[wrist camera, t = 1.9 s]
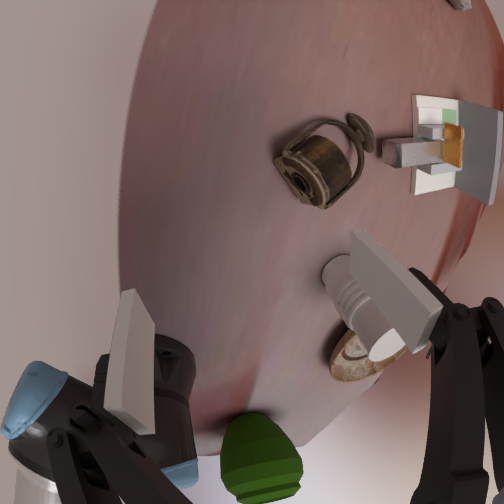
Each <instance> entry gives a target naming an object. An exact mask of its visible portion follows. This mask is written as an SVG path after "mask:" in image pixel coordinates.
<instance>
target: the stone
mask: <svg viewBox="0 0 504 504" xmlns="http://www.w3.org/2000/svg"><path fill="white" fill-rule="evenodd" d="M449 2H450V3H451V4H452V5H453V6H454V7H455V8H457V9H459V10H461V11H465V10H468V9H471V8H472V6H471V0H449Z"/></svg>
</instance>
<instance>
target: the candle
mask: <svg viewBox="0 0 504 504" xmlns="http://www.w3.org/2000/svg"><path fill="white" fill-rule="evenodd" d="M349 260H350V256H349V255H340V256H337V257H335V258H334V259H332V260H331V261H330V262H329V263H328V264H327V265H326V266H325V268H324V270H323V273H322V281H323V283H324V284H325V290H326V292H327V294H328V295H329V296H330V297H331V298H332V300H333V301H334V305H335V308H336V309H337V311H338V312H339V314H340V315H341V317H342V319H343V320H344V322H345V323H346V325H347V326H348V328H350V329H351V330H353V331H354V332H355V333H356V335H357V336H358V338H359V339H360V341H361V343H362V344H363V346H364V347H365V349H366V351H367V355H368V358H369V359H370V360H371V361H374V362H377V361H381V360H384V359H386V358H389V357H390V356H392V355H394V354H395V353H396V352H398V351H399V350H400V349H401V348H402V347H403V346H404V345H405V343H404V341H403V340H402V339H401V337H400V336H399V335H398V333H397V332H396V331H395V329H394V328H393V327H392V325H391V324H390V323H389V321H388V320H387V319H386V317H385V316H384V315H383V313H382V312H381V311H380V310H379V308H378V307H377V306H376V304H375V303H374V302H373V301H372V299H371V298H370V297H369V296H368V294H367V293H366V292H365V291H364V289H363V288H362V287H361V286H360V284H359V283H358V282H357V281H356V280H355V278H354V277H353V276H352V275H351V273H350V272H349Z"/></svg>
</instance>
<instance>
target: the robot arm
mask: <svg viewBox="0 0 504 504" xmlns="http://www.w3.org/2000/svg"><path fill="white" fill-rule="evenodd" d="M349 272H350V273H351V275H352V276H353V277H354V278H355V280H356V281H357V282H358V283H359V284H360V286H361V287H362V288H363V289H364V291H365V292H366V293H367V294H368V296H369V297H370V298H371V299H372V301H373V302H374V303H375V304H376V306H377V307H378V308H379V310H380V311H381V312H382V313H383V315H384V316H385V317H386V319H387V320H388V321H389V323H390V324H391V325H392V327H393V328H394V329H395V331H396V332H397V333H398V335H399V336H400V337H401V339H402V340H403V341H404V343H405V344H406V345H407V347H408V348H409V350H410V351H411V352H412V354H414V353H416V352H418V351H419V350H421V349H423V348H424V347H425V346H426V344H427V342H428V340H430V341H431V343H432V346H431V348H430V349H429V351H428V353H427V355H426V359H428V358H429V356H430V354H431V398H430V415H429V427H428V435H427V445H426V451H425V457H424V463H423V469H422V474H421V479H420V483H419V485H418V487H417V489H416V490H415V491H414V493H413V496H412V498H411V502H410V504H485V502H486V497H487V491H488V485H489V475H488V472H486V471H485V470H484V469H483V455H484V440H485V418H486V422H487V428H488V433H489V439H490V445H491V452H492V460H493V469H494V477H495V481H496V486H497V489H498V492H499V494H497V495H496V496H495V497H494V499H493V501H492V504H504V307H503V306H502V304H501V303H500V302H499V301H498V300H497V299H495V298H492V297H487V298H485V299H484V300H483V302H482V304H481V306H479V307H474V308H468V307H467V306H465V305H464V304H460V303H455V304H453V303H452V302H451V301H450V300H449V299H448V298H447V297H446V296H445V295H444V293H443V292H442V291H441V290H440V289H439V288H438V287H437V286H436V285H434V284H433V282H432V281H431V280H428V278H427V277H426V276H425V275H424V274H423V273H422V272H421V271H419V270H417V269H415V268H413V267H412V268H409V269H407V268H406V267H405V266H404V265H403V264H402V263H401V262H400V261H398V260H397V259H396V258H395V257H394V256H393V255H392V254H391V253H390V252H389V251H388V250H387V249H386V248H385V247H383V246H382V245H381V244H380V243H379V242H378V241H377V240H376V239H375V238H373V237H372V236H371V235H370V234H369V233H368V232H367V231H365V230H364V229H363V228H360V229H356V230H353V231H351V239H350V260H349ZM489 337H490V340H491V344H490V343H489V341H488V339H489ZM195 376H196V366H195V359H194V356H193V354H192V353H191V351H190V350H189V349H188V348H187V347H186V346H184V345H183V344H181V343H180V342H178V341H176V340H173V339H171V338H168V337H164V336H160V335H155V324H154V322H153V320H152V319H151V317H150V315H149V313H148V311H147V310H146V308H145V306H144V304H143V302H142V300H141V299H140V297H139V295H138V293H137V291H136V289H135V288H133V289H130V290H126V291H122V294H121V298H120V303H119V308H118V313H117V318H116V323H115V328H114V333H113V339H112V344H111V350H110V354H105V355H101V357H100V359H99V361H98V363H97V365H96V371H95V377H94V384H93V387H92V386H90V385H88V384H86V383H84V382H82V381H80V380H77V379H75V378H74V377H72V376H70V375H68V373H67V372H63V371H60V370H58V369H55V368H54V367H52V366H50V365H48V364H46V363H44V362H41V361H33V362H32V363H30V364H29V365H28V366H27V367H26V369H25V370H24V372H23V374H22V376H21V378H20V380H19V382H18V384H17V386H16V388H15V390H14V392H13V394H12V397H11V399H10V401H9V404H8V407H7V410H6V412H5V416H4V417H3V421H2V424H1V433H2V434H3V435H4V436H5V437H6V438H7V439H9V440H10V441H9V447H8V451H9V453H10V455H11V457H12V459H13V460H14V462H15V463H16V464H17V475H16V485H15V486H16V487H15V503H14V504H122V502H121V500H120V497H121V499H122V500H123V501H124V503H125V504H193V503H192V502H191V501H189V499H188V498H187V497H185V495H184V494H183V493H182V492H181V491H180V490H179V489H185V488H189V487H192V486H193V485H195V484H196V483H197V481H198V477H199V476H198V465H197V462H198V459H197V454H196V448H195V442H194V436H193V430H192V423H191V416H190V409H189V398H190V394H191V390H192V387H193V383H194V380H195ZM119 496H120V497H119Z"/></svg>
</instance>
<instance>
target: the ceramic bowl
mask: <svg viewBox="0 0 504 504" xmlns="http://www.w3.org/2000/svg"><path fill="white" fill-rule="evenodd" d="M407 349H408V347H407V345H406V344H405V345H404V346H403V347H402V348H401V349H400V350H399V351H398V352H396V353H395V354H394V355H392V356H390V357H389V358H386V359H384V360H381V361H377V362H374V361H371V360H370V359H369V358H368V355H367V351H366V349H365V347H364V346H363V344H362V343H361V341H360V339H359V338H358V336H357V335H356V333H355V332H354V331H353V330H351V329H349V330H348V331H347V332H346V333H345V334H344V336H343V337H342V338H341V339H340V341H339V342H338V344H337V345H336V347H335V349H334V351H333V353H332V356H331V359H330V364H329V369H330V374H331V376H332V377H333V378H334V379H335V380H336V381H339V382H346V383H347V382H354V381H359V380H362V379H365V378H367V377H370V376H372V375H374V374H376V373H378V372H380V371H381V370H383V369H385V368H386V367H387V366H389V365H390V364H392V363H393V362H394V361H395V360H396V359H398V358H399V357H400V356H401V355H402V354H403V353H404V352H405V351H406V350H407Z"/></svg>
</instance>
